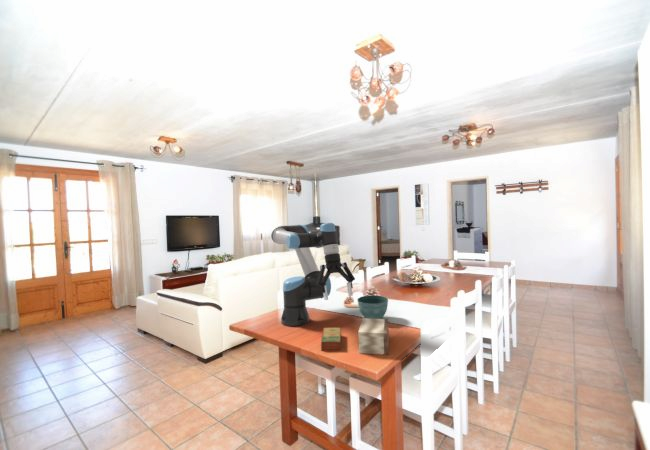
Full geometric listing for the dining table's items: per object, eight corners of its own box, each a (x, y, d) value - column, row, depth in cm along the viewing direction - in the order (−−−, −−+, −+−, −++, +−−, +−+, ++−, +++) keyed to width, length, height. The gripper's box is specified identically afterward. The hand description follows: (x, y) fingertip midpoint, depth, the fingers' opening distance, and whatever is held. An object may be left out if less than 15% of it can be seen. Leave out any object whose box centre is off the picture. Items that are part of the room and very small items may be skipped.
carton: (341, 336, 140) (340, 327, 140) (341, 351, 124) (340, 341, 124) (323, 336, 141) (323, 327, 141) (321, 351, 125) (320, 341, 125)
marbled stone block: (359, 352, 121) (358, 332, 121) (363, 336, 138) (362, 318, 138) (388, 354, 119) (387, 333, 119) (388, 337, 135) (388, 319, 135)
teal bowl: (380, 326, 149) (379, 305, 149) (352, 321, 159) (351, 300, 159) (393, 317, 162) (393, 297, 162) (367, 312, 172) (366, 294, 172)
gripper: (312, 254, 140) (318, 301, 135) (357, 250, 151) (364, 293, 147) (305, 257, 146) (312, 302, 142) (349, 253, 158) (356, 294, 153)
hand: (338, 297), depth 144 cm, fingers open, 13 cm apart
